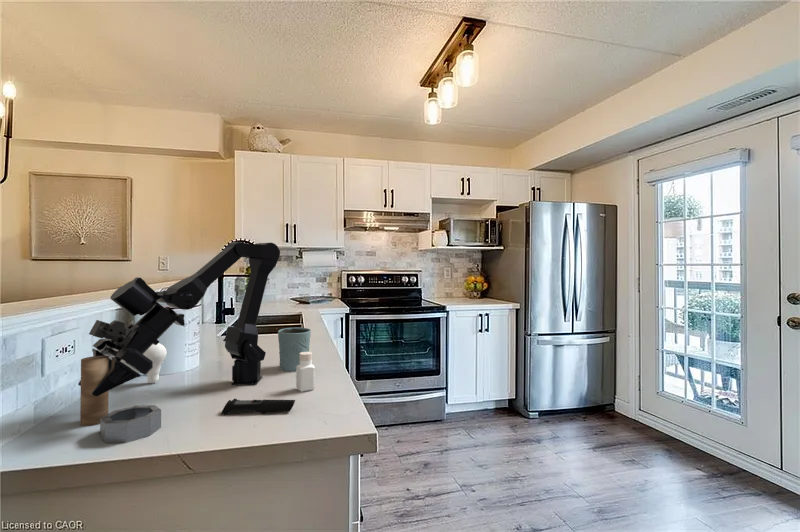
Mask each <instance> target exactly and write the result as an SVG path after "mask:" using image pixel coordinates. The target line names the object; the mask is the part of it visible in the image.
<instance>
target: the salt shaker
mask: <svg viewBox="0 0 800 532" xmlns="http://www.w3.org/2000/svg"><path fill="white" fill-rule="evenodd" d="M312 360H313V353H312V351H309V352H301V353H300V360H299V361H300V365H298V366H297V367H296V371H295V372H296V375H295V377H296V380H295V381H296V382H295V383H296V385H295V387H296V389H297V390H298V391H299V392H301V393H303V392H308V391H314V390H315V387H316V380H315V379H316V376H315V375H316V370H315V369H316V367H315V365H314V364H312V363H313V362H312Z"/></svg>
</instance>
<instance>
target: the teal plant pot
mask: <svg viewBox="0 0 800 532" xmlns="http://www.w3.org/2000/svg"><path fill="white" fill-rule="evenodd" d="M311 333H312V330H311V329H310V328H306V327H285V328H281V329H279V330H278V331H277V335H278V336H277V338H278V339H277V340H278V349H279V350H278V351H279V353H278V354H279V369H280V370H281V371H282V370H283V371H284V372H291V371H293V372H296V367H297V366H298V365H300V361H299V360H300V353H301V352H310V346H311V345H310V343H311Z"/></svg>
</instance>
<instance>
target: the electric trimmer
mask: <svg viewBox="0 0 800 532" xmlns="http://www.w3.org/2000/svg"><path fill="white" fill-rule="evenodd" d="M295 402H296V399H253V400H252V399H251V400H250V399H248V400H246V399H245V400H244V399H243V400H241V399H238V398H233V399H232V400H231V399H229V400H227V402H226V403H225V405H224V407H223V409H222V411H221V415H224V416H226V415H228V414H241V413H243V414H245V413H250V414H251V413H259V414H261V415H262V414H263V415H264V414H273V413H282V412H283V413H285V412H290V411H291V410H292V409H293V407H294V405H295ZM225 414H226V415H225Z"/></svg>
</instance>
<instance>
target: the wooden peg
mask: <svg viewBox="0 0 800 532" xmlns="http://www.w3.org/2000/svg"><path fill="white" fill-rule="evenodd" d="M108 372H109V356H93V355H92V356H88V357H84V358H81V359H80V380H81V386H80V403H79V405H80V408H79V409H80V410H79V411H80V414H79V417H80V418H79V420H80V422H79V424H80V426H82V427H91V426H96V425H100V418H102V417H103V416H105V415H107V414H109V409H110V408H109V407H110V406H109V404H110V403H109V398H110V397H109V394H110V393H109V391H110V390H109V391H107V392H105V393H103V394H101V395H99V396H94V395H92V392H93V390H94V389H95V388H96V386H97V385H98V384H99V383H100V381H101V380H102V379H103V378H104V377H105V375H106V374H107V373H108Z"/></svg>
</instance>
